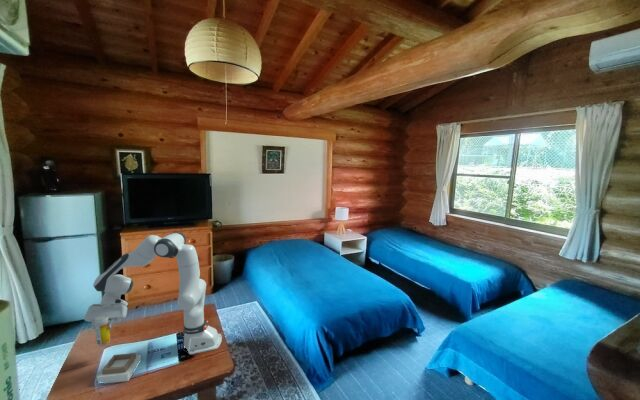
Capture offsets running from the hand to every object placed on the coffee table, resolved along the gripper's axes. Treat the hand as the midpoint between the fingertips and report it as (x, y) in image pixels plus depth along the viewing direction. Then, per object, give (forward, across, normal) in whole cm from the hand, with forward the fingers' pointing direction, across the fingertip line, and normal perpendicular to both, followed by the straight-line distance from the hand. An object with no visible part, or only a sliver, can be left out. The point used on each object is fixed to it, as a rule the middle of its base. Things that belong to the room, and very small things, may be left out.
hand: (101, 328), depth 152 cm
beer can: (+6, 0, +7) cm, 9 cm away
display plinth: (+22, +14, +6) cm, 26 cm away
